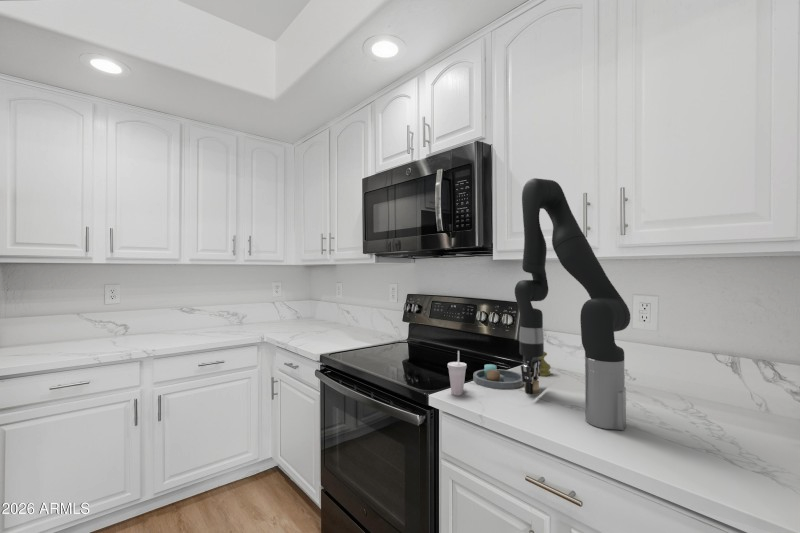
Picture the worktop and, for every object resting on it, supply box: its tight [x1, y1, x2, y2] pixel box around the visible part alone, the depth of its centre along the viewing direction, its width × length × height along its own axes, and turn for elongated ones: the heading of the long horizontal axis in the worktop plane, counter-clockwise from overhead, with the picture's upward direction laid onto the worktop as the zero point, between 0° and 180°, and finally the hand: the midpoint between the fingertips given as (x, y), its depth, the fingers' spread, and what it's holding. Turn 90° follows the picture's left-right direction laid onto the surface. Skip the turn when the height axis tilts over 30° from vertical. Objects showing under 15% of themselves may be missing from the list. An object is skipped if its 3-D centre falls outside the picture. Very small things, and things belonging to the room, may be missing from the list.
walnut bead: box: [487, 370, 500, 382], centre depth 130 cm, size 4×4×4 cm
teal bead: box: [483, 363, 498, 379], centre depth 139 cm, size 4×4×4 cm
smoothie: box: [447, 350, 468, 396], centre depth 124 cm, size 6×6×14 cm
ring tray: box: [472, 368, 525, 390], centre depth 134 cm, size 18×18×3 cm
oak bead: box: [533, 379, 540, 394], centre depth 123 cm, size 4×4×4 cm
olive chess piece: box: [536, 351, 552, 377], centre depth 144 cm, size 7×7×10 cm
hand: (531, 392), depth 123 cm, fingers closed on oak bead, 4 cm apart
